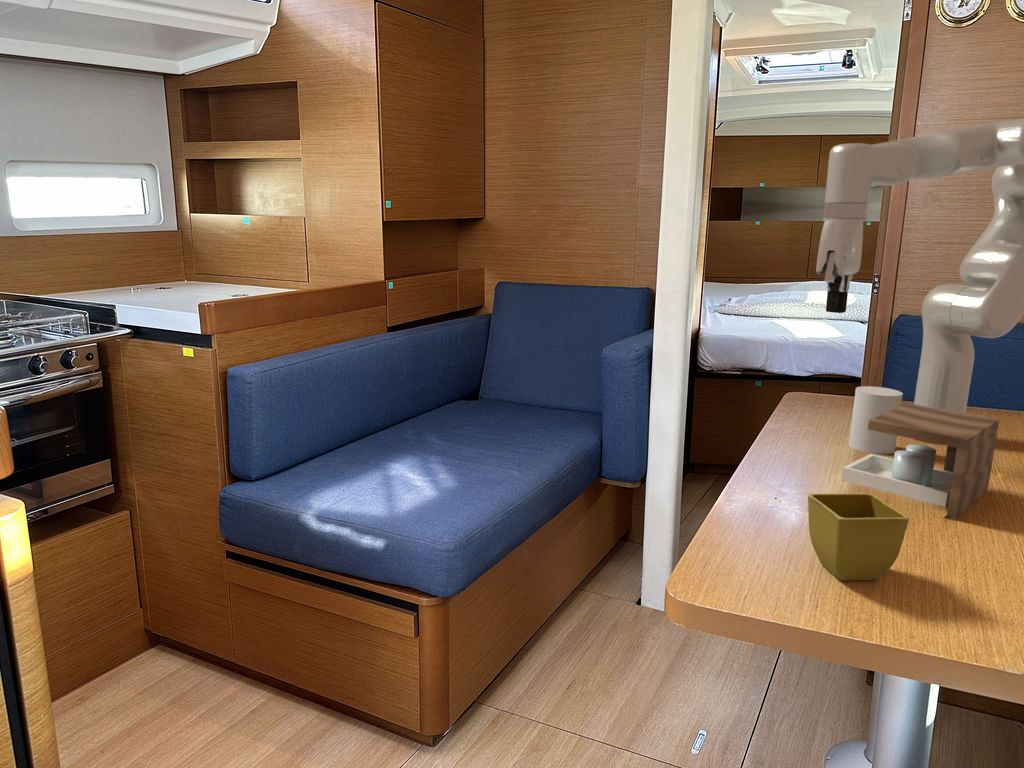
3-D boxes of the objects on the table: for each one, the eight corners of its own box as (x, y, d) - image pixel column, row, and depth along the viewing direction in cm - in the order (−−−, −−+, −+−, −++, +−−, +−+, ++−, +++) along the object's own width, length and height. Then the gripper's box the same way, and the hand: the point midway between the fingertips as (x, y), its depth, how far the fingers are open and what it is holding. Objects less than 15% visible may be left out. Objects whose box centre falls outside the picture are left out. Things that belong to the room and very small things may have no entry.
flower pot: (798, 557, 100) (806, 492, 98) (862, 556, 101) (871, 492, 99) (831, 589, 92) (840, 518, 90) (901, 588, 92) (911, 518, 91)
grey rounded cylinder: (907, 476, 132) (911, 443, 130) (934, 483, 128) (940, 448, 127) (897, 482, 128) (902, 447, 127) (925, 489, 125) (931, 454, 124)
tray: (868, 469, 137) (870, 453, 137) (967, 493, 126) (970, 476, 126) (840, 484, 129) (842, 467, 128) (944, 511, 118) (947, 493, 117)
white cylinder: (899, 459, 144) (908, 397, 141) (853, 455, 145) (861, 394, 143) (887, 447, 152) (896, 388, 149) (844, 443, 153) (851, 385, 151)
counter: (898, 471, 137) (907, 403, 134) (987, 492, 127) (999, 419, 125) (859, 494, 124) (869, 420, 121) (954, 520, 115) (967, 439, 112)
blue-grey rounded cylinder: (895, 483, 128) (900, 448, 127) (923, 490, 125) (929, 455, 124) (885, 489, 125) (890, 453, 124) (914, 496, 122) (919, 460, 121)
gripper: (840, 213, 150) (831, 307, 154) (808, 213, 139) (799, 313, 143) (880, 213, 145) (870, 310, 149) (851, 213, 134) (840, 317, 138)
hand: (835, 311), depth 146 cm, fingers closed
